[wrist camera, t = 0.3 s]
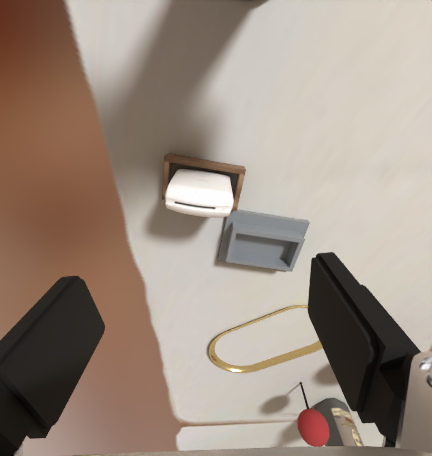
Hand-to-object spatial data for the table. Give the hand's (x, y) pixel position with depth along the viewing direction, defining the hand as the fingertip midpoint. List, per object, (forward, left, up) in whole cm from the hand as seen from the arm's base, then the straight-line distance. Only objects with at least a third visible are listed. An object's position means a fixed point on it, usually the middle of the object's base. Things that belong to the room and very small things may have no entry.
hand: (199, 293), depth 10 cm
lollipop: (+64, +37, -35) cm, 82 cm away
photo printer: (+6, -1, -35) cm, 35 cm away
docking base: (+16, +12, -34) cm, 40 cm away
